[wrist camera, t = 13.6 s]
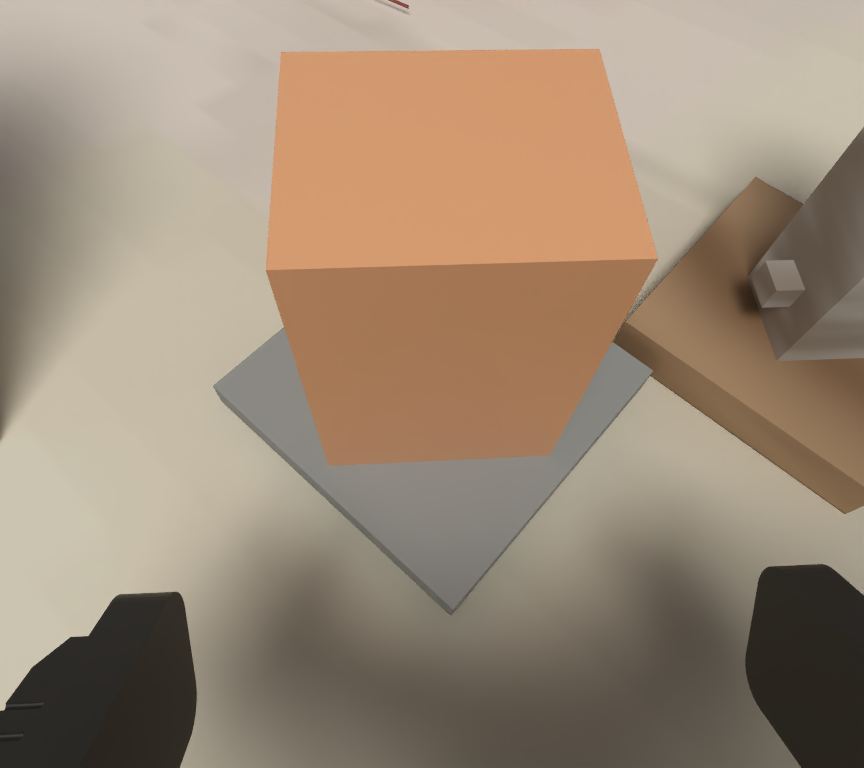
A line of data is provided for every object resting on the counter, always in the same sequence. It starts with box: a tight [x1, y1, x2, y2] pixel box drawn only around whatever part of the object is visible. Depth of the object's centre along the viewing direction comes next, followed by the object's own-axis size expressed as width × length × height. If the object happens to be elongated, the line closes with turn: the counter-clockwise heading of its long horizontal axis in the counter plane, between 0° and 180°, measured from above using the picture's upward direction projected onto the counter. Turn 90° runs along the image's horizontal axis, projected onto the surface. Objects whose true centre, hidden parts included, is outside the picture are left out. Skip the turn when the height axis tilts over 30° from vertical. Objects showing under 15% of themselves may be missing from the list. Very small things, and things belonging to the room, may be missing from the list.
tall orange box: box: [266, 49, 658, 466], centre depth 15 cm, size 5×6×8 cm
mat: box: [213, 328, 653, 615], centre depth 19 cm, size 9×9×1 cm
